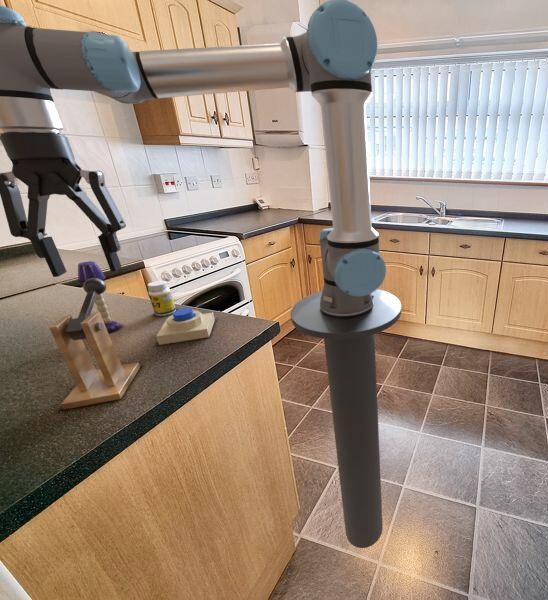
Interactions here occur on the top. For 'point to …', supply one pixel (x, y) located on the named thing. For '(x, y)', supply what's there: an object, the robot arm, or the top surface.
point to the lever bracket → (89, 380)
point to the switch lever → (85, 307)
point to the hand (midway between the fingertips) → (88, 271)
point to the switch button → (183, 314)
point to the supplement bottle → (161, 298)
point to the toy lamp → (93, 271)
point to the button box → (186, 328)
